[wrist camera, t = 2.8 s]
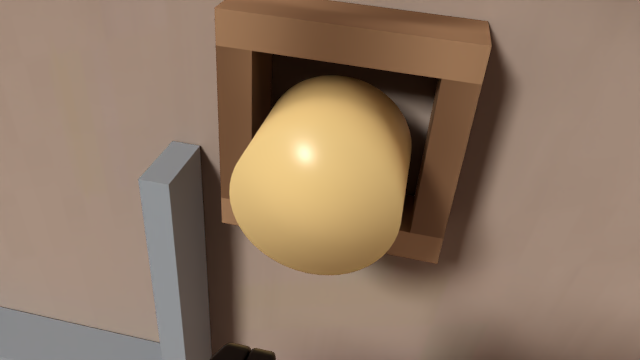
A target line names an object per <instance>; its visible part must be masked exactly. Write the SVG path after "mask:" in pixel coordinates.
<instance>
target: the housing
mask: <svg viewBox="0 0 640 360" xmlns="http://www.w3.org/2000/svg"><path fill="white" fill-rule="evenodd" d="M215 35H216V64H217V93H218V122H219V151H220V180H221V209H222V223H228V224H233V225H238V223H237V221H236V219H235V216H234V214H233V211H232V207H231V203H230V195H229V190H230V181H231V176H232V173H233V170H234V168H235V166H236V164H237V162H238V161H239V159H240V157H241V156H242V154H243V153H244V151H245V150H246V148H247V147H248V145H249V144H250V142H251V141H252V139H253V138H254V136H255V134H256V133H257V131H258V130H259V128H260V127H261V125H262V124H263V122H264V121H265V119H266V118H267V116H268V115H269V113H270V112H271V81H272V54H278V55H284V56H291V57H298V58H305V59H312V60H318V61H325V62H332V63H339V64H345V65H352V66H359V67H366V68H373V69H379V70H386V71H393V72H400V73H407V74H413V75H420V76H427V77H434V78H438V83H437V88H436V93H435V97H434V102H433V107H432V112H431V117H430V122H429V127H428V132H427V137H426V142H425V147H424V152H423V157H422V162H421V167H420V172H419V177H418V181H417V186H416V191H415V196H412V195H406V194H405V198H404V205H403V212H402V219H401V225H400V229H399V232H398V235H397V237H396V239H395V241H394V243H393V244H392V246H391V247H390V249H389V250H388V251H387V252H386V253H385V254H389V255H394V256H399V257H404V258H409V259H415V260H420V261H425V262H430V263H435V264H437V262H438V258H439V254H440V250H441V246H442V242H443V238H444V234H445V230H446V226H447V222H448V218H449V214H450V210H451V206H452V202H453V198H454V194H455V191H456V187H457V183H458V179H459V175H460V171H461V167H462V163H463V159H464V155H465V151H466V147H467V143H468V139H469V135H470V131H471V127H472V123H473V119H474V115H475V111H476V107H477V103H478V99H479V95H480V91H481V87H482V83H483V79H484V75H485V71H486V67H487V63H488V59H489V55H490V51H491V47H492V44H491V37H490V30H489V23H488V21H481V20H474V19H466V18H459V17H451V16H443V15H436V14H428V13H421V12H413V11H406V10H398V9H390V8H383V7H375V6H368V5H360V4H353V3H345V2H337V1H330V0H224V1H223V2H222V3H220V4H219V5H218V6H216V7H215ZM238 226H239V225H238Z"/></svg>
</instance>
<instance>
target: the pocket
mask: <svg viewBox="0 0 640 360" xmlns="http://www.w3.org/2000/svg"><path fill="white" fill-rule="evenodd" d="M138 181H139V188H140V196H141V203H142V211H143V218H144V226H145V233H146V241H147V248H148V256H149V263H150V271H151V278H152V286H153V293H154V301H155V308H156V316H157V323H158V331H159V338H160V343H157V342H153V341H148V340H144V339H140V338H135V337H131V336H126V335H122V334H118V333H113V332H109V331H104V330H100V329H95V328H91V327H87V326H82V325H78V324H73V323H69V322H65V321H60V320H56V319H51V318H47V317H43V316H38V315H34V314H29V313H25V312H20V311H16V310H12V309H7V308H3V307H0V360H209V359H210V358H211V357H212V351H211V333H210V316H209V298H208V281H207V263H206V245H205V228H204V210H203V193H202V175H201V158H200V146H198V145H192V144H186V143H181V142H175V141H172V142H171V143H170V145H169V146H168V147H167V148H166V149H165V150H164V151H163V152H162V153H161V155H160V156H159V157H158V158H157V159H156V160H155V161H154V162H153V163H152V165H151V166H150V167H149V168H148V169H147V170H146V171H145V172H144V173H143V175H142V176H141V177H140V178H139V179H138Z"/></svg>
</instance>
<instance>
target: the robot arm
mask: <svg viewBox="0 0 640 360" xmlns="http://www.w3.org/2000/svg"><path fill="white" fill-rule="evenodd" d="M209 360H276V357H275V353H274V352H272V351H267V350H263V349H258V348H254V349H252V350H251V348H250V347H248V346H245V345H240V344H236V343H228V344H226V345H224V346H223V347H222V348H221V349H220V350H219V351H218V352H217V353H216V354H215V355H213V356H212V357H211V358H210V359H209Z"/></svg>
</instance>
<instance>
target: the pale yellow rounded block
mask: <svg viewBox="0 0 640 360" xmlns="http://www.w3.org/2000/svg"><path fill="white" fill-rule="evenodd" d="M411 149H412V146H411V136H410V130H409V128H408V125H407V122H406V120H405V118H404V116H403V114H402V112H401V111H400V110H399V108H398V107H397V105H396V104H395V103H394V102H393V101H392V100H391V99H390V98H389V97H388V96H387V95H386V94H384V93H383V92H382V91H381V90H379V89H377V88H376V87H374V86H373V85H371V84H369V83H366V82H364V81H362V80H359V79H356V78H352V77H347V76H340V75H324V76H318V77H313V78H310V79H307V80H304V81H302V82H300V83H298V84H296V85H294V86H293V87H291V88H290V89H289V90H287V91H286V92H285V93H284V94H283V95H282V96H281V97H280V99H279V100H278V101H277V102H276V104H275V105H274V107H273V108H272V110H271V112H270V113H269V115H268V116H267V118H266V119H265V121H264V122H263V124H262V125H261V127H260V128H259V130H258V131H257V133H256V134H255V136H254V138H253V139H252V141H251V142H250V144H249V145H248V147H247V148H246V150H245V151H244V153H243V154H242V156H241V157H240V159H239V161H238V162H237V164H236V166H235V168H234V170H233V173H232V176H231V181H230V190H229V195H230V203H231V207H232V211H233V214H234V216H235V219H236V221H237V223H238V225H239V226H240V228H241V230H242V231H243V233H244V234H245V235H246V237H247V238H248V239H249V240H250V241H251V242H252V243H253V244H254V245H255V246H256V247H257V248H258V249H259V250H260V251H261V252H263V253H264V254H266V255H267V256H268V257H270V258H271V259H273V260H275V261H276V262H278V263H280V264H282V265H285V266H287V267H289V268H292V269H295V270H298V271H301V272H305V273H310V274H317V275H340V274H346V273H351V272H354V271H358V270H360V269H363V268H365V267H367V266H369V265H371V264H373V263H374V262H376V261H377V260H378V259H380V258H381V257H382V256H383V255H384V254H385V253H386V252H387V251H388V250H389V249H390V247H391V246H392V244H393V243H394V241H395V239H396V237H397V235H398V232H399V229H400V225H401V219H402V212H403V205H404V198H405V192H406V185H407V178H408V171H409V165H410V158H411Z"/></svg>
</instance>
